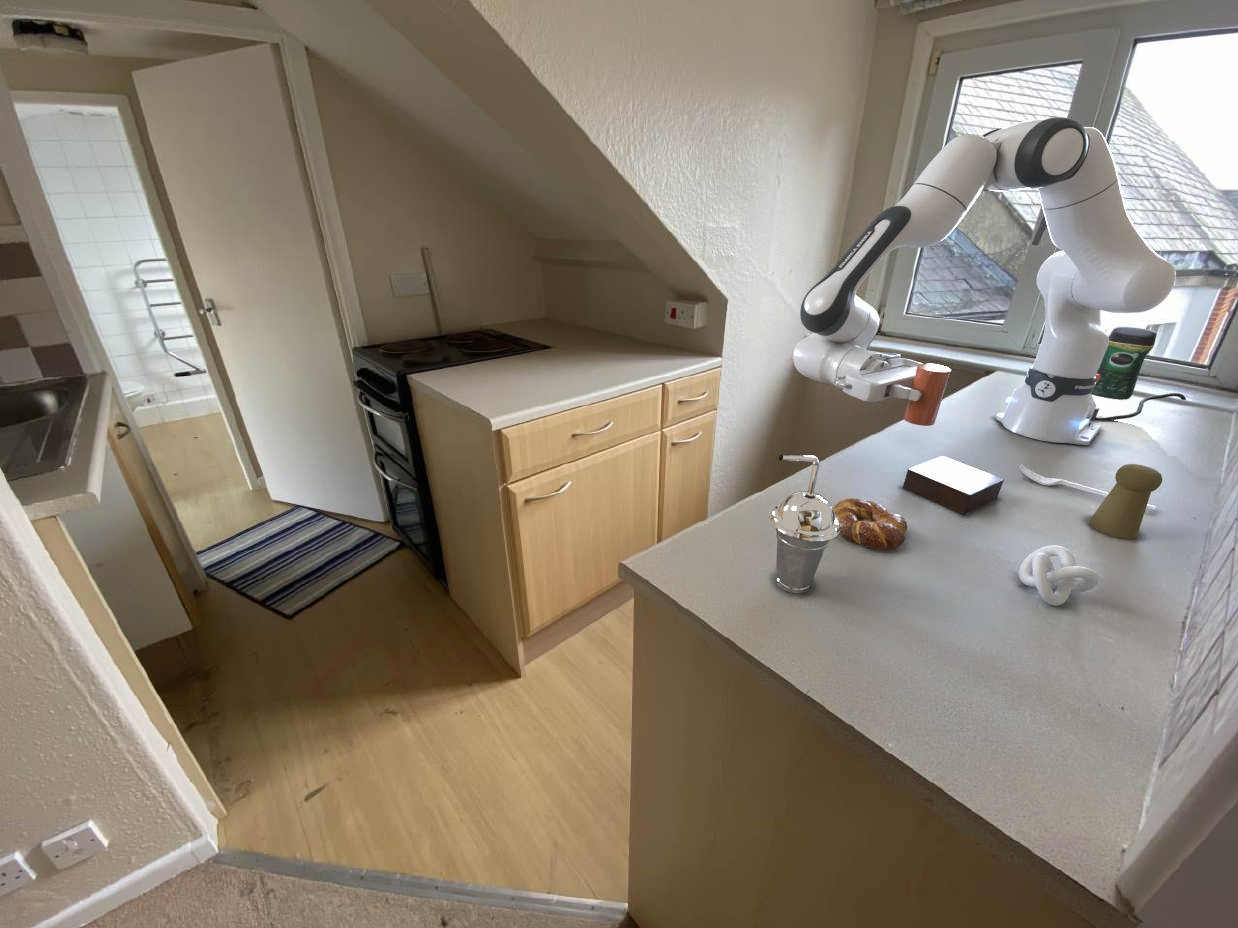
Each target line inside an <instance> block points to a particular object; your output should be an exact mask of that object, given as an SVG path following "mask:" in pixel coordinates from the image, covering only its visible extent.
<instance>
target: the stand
mask: <svg viewBox="0 0 1238 928" xmlns="http://www.w3.org/2000/svg"><path fill="white" fill-rule="evenodd" d="M1004 482H1005V479H1004V478H1001V477H999V476H997V475H994V474H991V473H989V472H986V471H983V470H980V469H978V468H975V467H972V466H970V465H967V464H965V463H962V462H960V461H957V460H954V459H952V458H949V457H947V456H943V455H941V456H938V457H936V458H933V459H931V460H927V461H925V462H922V463H920V464H917V465H915V466H912V467H910V468H907V471H906V475H905V477H904V482H903V485H902V489H904V490H905V491H907V492H910V493H912V494H914V495H917V496H918V497H920V498H923V499H925V500H927V501H929V502H932V503H934V504H935V505H936V504H937V506H938V505H939V506H940V507H943V508H944V509H947V510H950V511H952V512H954V513H956V514H958V515H960V516H966V515H967V514H969V513H972V512H973V511H976V510H978V509H980V508H982V507H984V506H985V505H988V504H990V503H992V502H994V501H996V500H998V498H999V495H1000V492H1001V490H1002V488H1003V485H1004Z"/></svg>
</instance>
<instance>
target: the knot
mask: <svg viewBox="0 0 1238 928" xmlns="http://www.w3.org/2000/svg"><path fill="white" fill-rule="evenodd" d="M1051 557H1059V559H1060V562H1061V567H1059V568H1056V569H1055V567H1054V563H1053V561H1052V558H1051ZM1018 578H1019V581H1020V583H1022V584H1023V585H1025V586H1027V587H1029V588H1036V590H1037V591H1038V594H1039V595H1040V597H1041V598H1042V600H1043V601H1045V602H1046V604H1048V605H1051V606H1055V607H1056V606H1061V605H1063V604H1064V603H1066V602H1067V600H1069V599H1068V598H1070V595H1071V593H1083V592H1087V591H1091V590H1092V589H1094V588H1096V587H1097V586H1098V585H1099V582H1100V578H1099V575H1098V574H1097V572H1096V571H1094V569H1093V570H1092V569H1091V568H1089V567H1086V566H1079V565H1077V563H1076V558H1075V556H1074V554H1073V553H1072V551H1070V550H1069V549H1068V548H1066V547H1064V546H1062V545H1057V544H1051V545H1045V546H1042V547H1040V548H1038V549H1035V550H1034V551H1032V552H1030V553H1029V554H1028V556H1026V557H1025V558H1024V559H1023V561H1022V562H1021V564H1020V566H1019V569H1018ZM1076 578H1077V579H1080V580H1075V579H1076ZM1051 586H1052V587H1053V588H1056V589H1055V591H1053V589H1052V587H1051Z"/></svg>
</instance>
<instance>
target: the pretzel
mask: <svg viewBox="0 0 1238 928" xmlns="http://www.w3.org/2000/svg"><path fill="white" fill-rule="evenodd" d="M832 508H833V511H834V515H835V516H836V517H837V518H838V520H839V523H840V531H839V533H838V535H840V537H841V538H843V539H844V540H846V541H848V542H850V543H855V544H859V545H861V546H863V547H866V548H872V549H887V550H888V549H895V548H897V547H900V546H902V545H903V544H904V542H905V540H906V536H905V533H906V532H907V530H908V524H907V523H908V522H907V521H906V519H905V518H904V517H903V516H902V515H901V514H899V513H897V512H888V508H886V507H885V506H883V505H882V504H880V503H879V502H876V501H870V500H863V499H860V498H859V499H858V498H855V497H854V498H852V497H851V498H845V499H842V500H840V501H839V502H837V503H836V504H834V506H833V507H832Z"/></svg>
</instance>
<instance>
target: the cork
mask: <svg viewBox="0 0 1238 928" xmlns="http://www.w3.org/2000/svg"><path fill="white" fill-rule="evenodd" d="M1115 482H1116V483H1115V484H1114V486H1113V487H1112V488H1111V489H1110V491H1109V492H1108V493H1109V494H1108V495H1107V497H1106V496H1105V497H1104V498H1103V499H1104V500H1102V502H1101V504H1100V505H1099V507H1098V508H1097V509H1096V510H1095V512H1094V513H1093V515H1092V516H1091V518H1090V519H1089V521H1088V524H1089V525H1090V526H1091V527H1093V528H1094V529H1095V530H1097V531H1098V532H1101V533H1102V534H1105V535H1108V536H1111V537H1115V538H1119V539H1125V540H1126V539H1128V540H1132V539H1136V538H1137V537H1138V535H1139V532H1140V529H1141V525H1142V523H1143V522H1142V521H1143V519H1144V516H1145V513H1146V510H1147V508H1146V507H1147V504H1149V500H1150V497H1151V494H1152V492H1155V491H1156V490H1158V488H1160V487H1161V485H1162V483H1163V476H1162V474H1161V472H1160V471H1158V470H1157V469H1155V468H1152V467H1150V466H1146V465H1143V464H1137V463H1128V464H1123V465H1121V466H1120V467H1119V468H1118V470H1117V471H1116V472H1115Z"/></svg>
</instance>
